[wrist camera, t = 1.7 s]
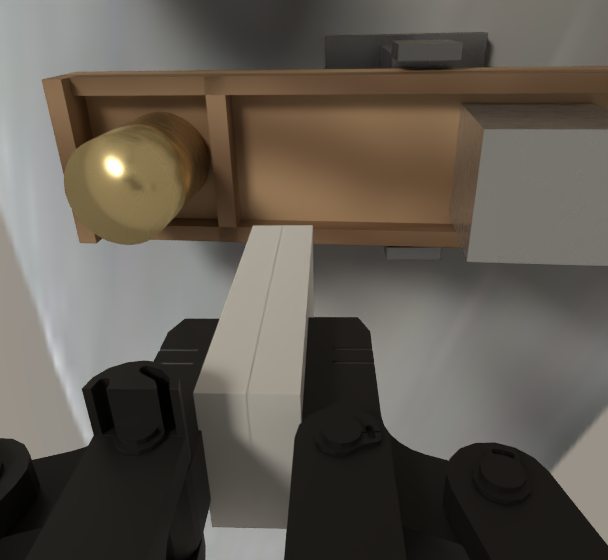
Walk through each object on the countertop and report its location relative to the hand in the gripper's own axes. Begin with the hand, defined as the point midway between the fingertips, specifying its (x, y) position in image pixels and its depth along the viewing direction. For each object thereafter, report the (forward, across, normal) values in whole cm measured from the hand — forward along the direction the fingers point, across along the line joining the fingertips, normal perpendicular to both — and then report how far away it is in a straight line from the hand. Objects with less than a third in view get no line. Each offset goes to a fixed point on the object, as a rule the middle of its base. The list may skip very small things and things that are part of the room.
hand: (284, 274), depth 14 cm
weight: (+11, -6, 0) cm, 13 cm away
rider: (+10, +9, 0) cm, 13 cm away
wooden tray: (+11, +5, 0) cm, 12 cm away
